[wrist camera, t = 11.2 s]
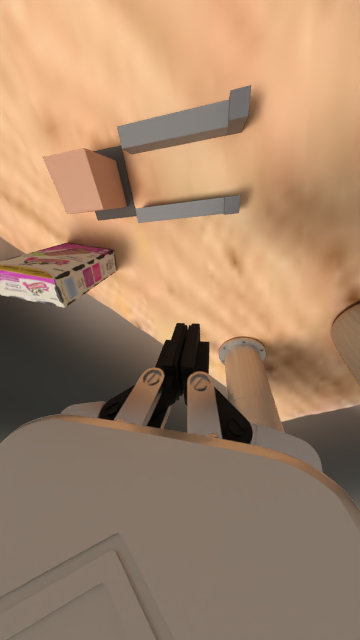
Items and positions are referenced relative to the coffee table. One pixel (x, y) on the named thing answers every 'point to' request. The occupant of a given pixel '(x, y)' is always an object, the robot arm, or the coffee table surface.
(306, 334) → the coffee table surface
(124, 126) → the grey u-shaped bracket
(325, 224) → the coffee table surface
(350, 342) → the canister
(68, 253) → the candy bar box
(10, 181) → the coffee table surface
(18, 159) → the coffee table surface
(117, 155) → the mat
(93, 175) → the block
